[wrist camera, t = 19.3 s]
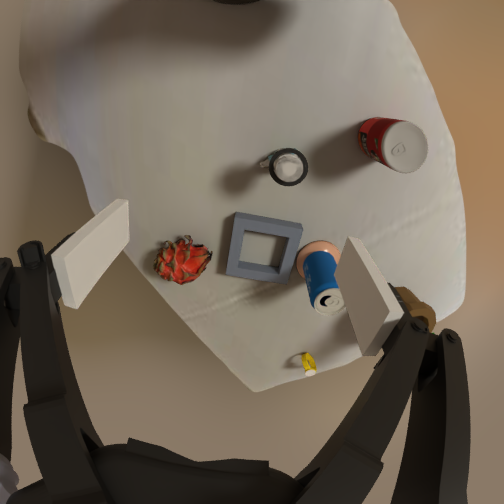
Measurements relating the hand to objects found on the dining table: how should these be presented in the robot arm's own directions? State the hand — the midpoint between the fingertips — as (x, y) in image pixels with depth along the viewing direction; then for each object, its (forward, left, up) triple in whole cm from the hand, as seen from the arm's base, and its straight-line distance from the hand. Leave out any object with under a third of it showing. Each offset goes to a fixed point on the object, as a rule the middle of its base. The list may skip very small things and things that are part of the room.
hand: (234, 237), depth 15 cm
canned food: (-8, +21, -32) cm, 39 cm away
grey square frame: (+17, +5, -32) cm, 36 cm away
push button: (0, +5, -32) cm, 32 cm away
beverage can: (+18, +17, -31) cm, 39 cm away
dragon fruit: (+21, -9, -32) cm, 39 cm away
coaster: (+18, +17, -32) cm, 40 cm away
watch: (+47, +24, -32) cm, 61 cm away
